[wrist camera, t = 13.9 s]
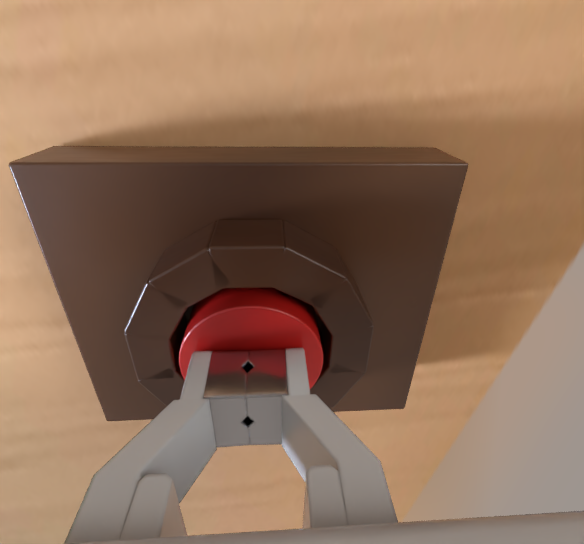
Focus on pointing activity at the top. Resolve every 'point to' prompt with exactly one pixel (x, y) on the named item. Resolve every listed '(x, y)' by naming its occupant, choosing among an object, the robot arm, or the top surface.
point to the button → (253, 326)
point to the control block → (242, 255)
